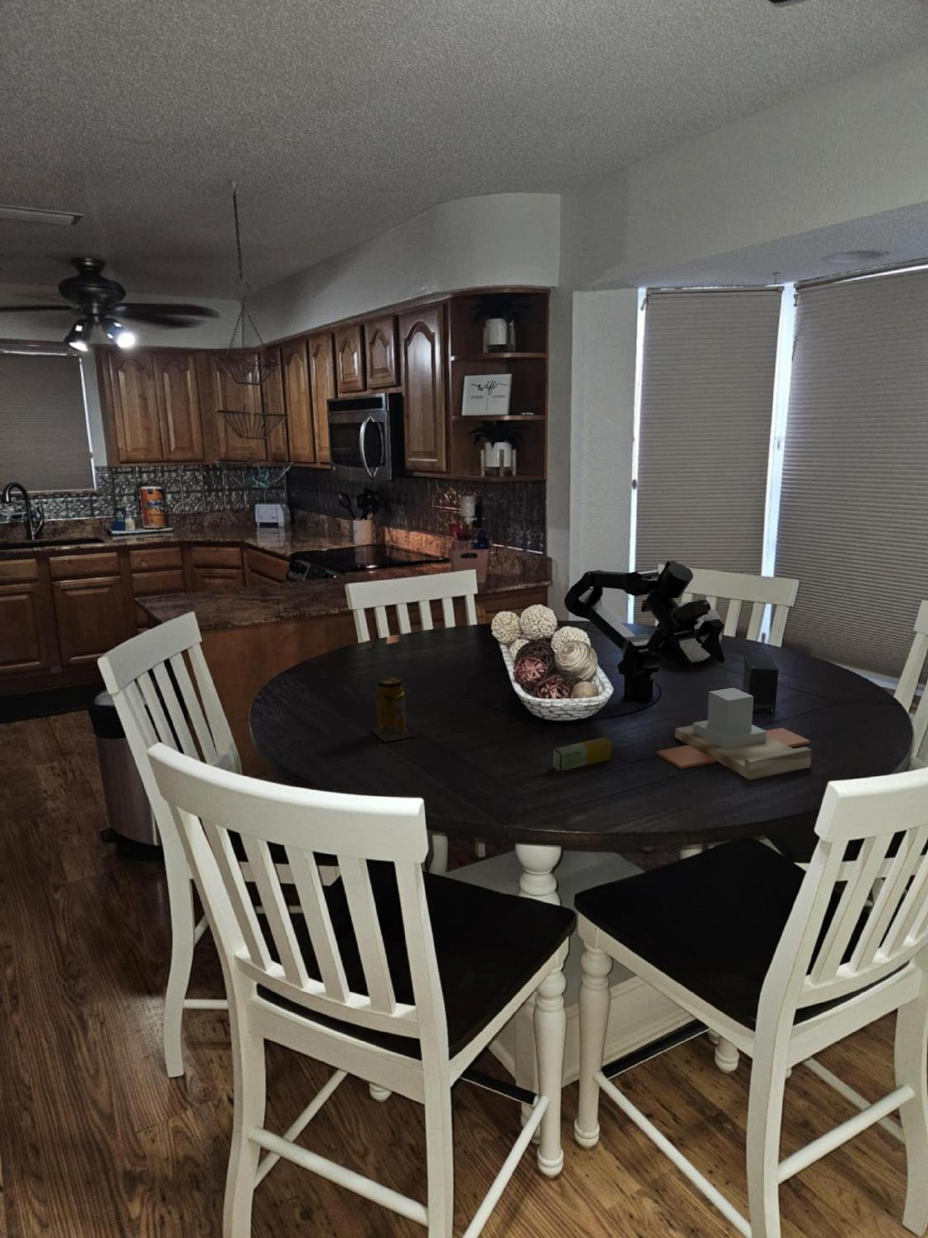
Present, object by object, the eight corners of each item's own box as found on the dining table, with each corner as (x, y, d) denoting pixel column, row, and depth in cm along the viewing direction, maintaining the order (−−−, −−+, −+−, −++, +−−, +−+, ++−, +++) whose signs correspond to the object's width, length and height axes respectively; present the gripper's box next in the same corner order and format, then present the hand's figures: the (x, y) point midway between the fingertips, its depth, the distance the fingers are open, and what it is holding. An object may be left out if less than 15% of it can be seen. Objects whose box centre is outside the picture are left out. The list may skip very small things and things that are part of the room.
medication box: (558, 773, 150) (559, 754, 149) (551, 766, 153) (552, 748, 151) (611, 759, 155) (613, 741, 154) (604, 753, 157) (605, 735, 156)
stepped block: (692, 731, 163) (694, 690, 161) (732, 724, 166) (734, 683, 164) (724, 749, 154) (726, 705, 152) (766, 741, 157) (768, 697, 155)
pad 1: (656, 754, 157) (656, 751, 157) (690, 747, 160) (690, 744, 160) (680, 769, 150) (680, 766, 150) (715, 762, 152) (716, 759, 152)
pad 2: (751, 736, 165) (751, 733, 165) (781, 730, 167) (781, 727, 167) (778, 749, 157) (778, 746, 157) (810, 743, 160) (810, 740, 160)
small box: (777, 714, 177) (780, 669, 175) (746, 712, 179) (749, 668, 176) (769, 698, 188) (772, 656, 185) (740, 697, 189) (742, 655, 186)
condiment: (401, 725, 177) (399, 674, 174) (416, 737, 169) (413, 684, 167) (370, 731, 174) (367, 679, 171) (384, 744, 166) (381, 689, 164)
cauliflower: (657, 617, 235) (685, 580, 223) (710, 644, 235) (741, 608, 223) (646, 661, 221) (675, 624, 209) (702, 690, 220) (734, 655, 209)
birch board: (675, 737, 165) (675, 721, 165) (730, 727, 170) (730, 711, 169) (749, 779, 144) (750, 761, 144) (810, 767, 149) (811, 749, 148)
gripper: (651, 592, 168) (693, 647, 159) (715, 582, 177) (758, 634, 168) (630, 627, 176) (668, 681, 167) (691, 616, 184) (731, 667, 176)
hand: (707, 665), depth 169 cm, fingers open, 9 cm apart
